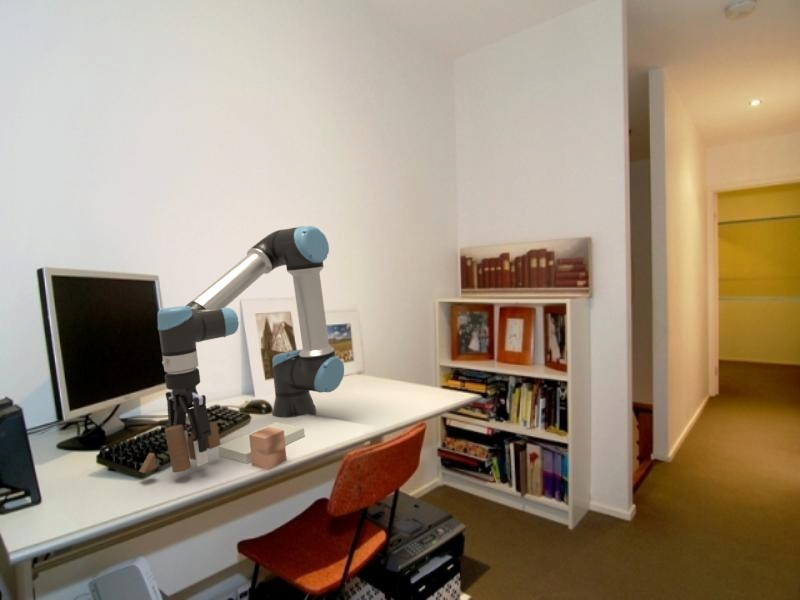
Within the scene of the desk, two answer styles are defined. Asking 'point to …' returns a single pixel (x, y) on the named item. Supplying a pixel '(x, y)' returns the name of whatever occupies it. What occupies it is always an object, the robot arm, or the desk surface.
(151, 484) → the desk surface
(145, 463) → the wooden block set
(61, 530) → the desk surface
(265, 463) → the terracotta brick
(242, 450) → the base plate
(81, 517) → the desk surface
